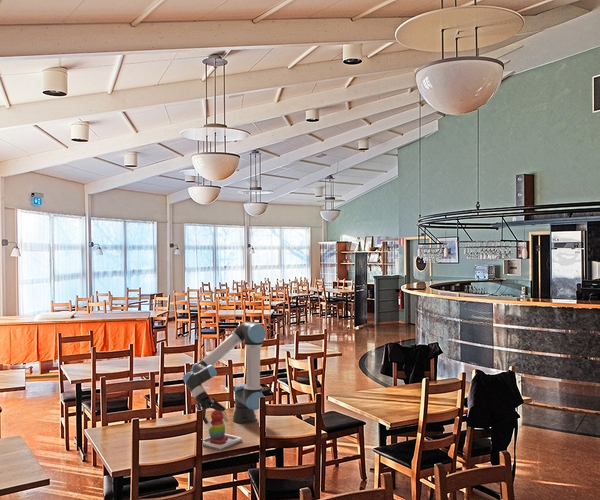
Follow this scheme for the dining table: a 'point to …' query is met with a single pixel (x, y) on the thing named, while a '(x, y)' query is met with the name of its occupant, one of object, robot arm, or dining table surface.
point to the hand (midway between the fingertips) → (219, 424)
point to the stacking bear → (217, 428)
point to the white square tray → (229, 442)
